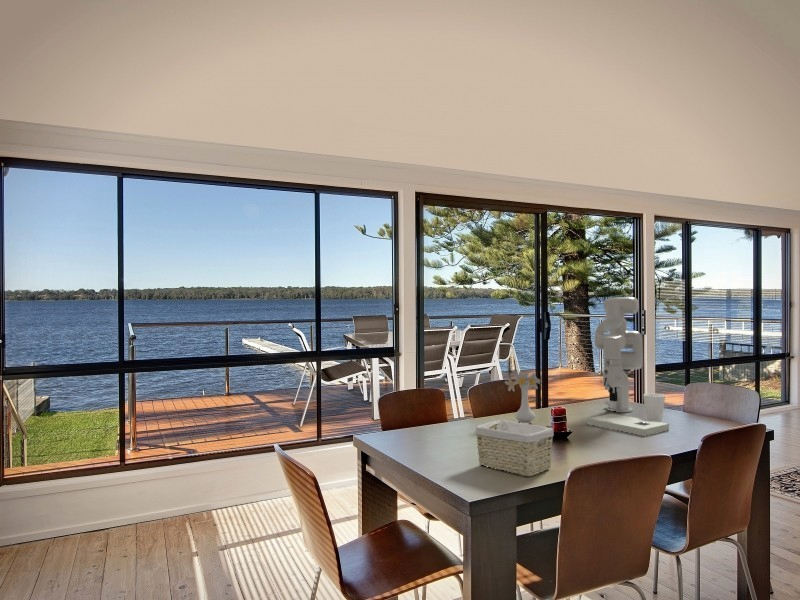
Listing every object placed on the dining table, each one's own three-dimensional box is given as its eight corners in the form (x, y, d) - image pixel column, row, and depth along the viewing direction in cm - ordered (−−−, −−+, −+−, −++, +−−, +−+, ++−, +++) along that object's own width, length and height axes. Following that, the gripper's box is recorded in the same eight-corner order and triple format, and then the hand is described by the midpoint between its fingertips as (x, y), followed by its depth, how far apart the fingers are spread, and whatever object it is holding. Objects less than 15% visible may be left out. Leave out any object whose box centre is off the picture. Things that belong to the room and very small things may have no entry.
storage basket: (473, 465, 203) (473, 425, 203) (501, 456, 214) (500, 418, 214) (529, 480, 185) (528, 435, 186) (556, 469, 197) (555, 427, 197)
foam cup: (668, 424, 264) (668, 396, 264) (649, 424, 264) (648, 396, 264) (660, 419, 273) (659, 393, 273) (640, 420, 273) (640, 393, 273)
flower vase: (502, 423, 271) (500, 372, 272) (527, 418, 282) (526, 369, 283) (522, 428, 261) (521, 374, 261) (548, 422, 272) (546, 371, 272)
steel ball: (637, 428, 250) (636, 421, 253) (641, 433, 252) (639, 425, 255) (646, 426, 248) (645, 418, 251) (650, 431, 250) (648, 423, 253)
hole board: (587, 424, 266) (587, 418, 266) (611, 419, 276) (611, 413, 276) (644, 436, 241) (644, 429, 241) (668, 430, 251) (668, 423, 251)
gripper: (609, 365, 258) (610, 404, 258) (629, 361, 266) (630, 399, 266) (595, 363, 264) (596, 402, 265) (615, 359, 272) (616, 397, 273)
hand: (613, 400), depth 265 cm, fingers closed
